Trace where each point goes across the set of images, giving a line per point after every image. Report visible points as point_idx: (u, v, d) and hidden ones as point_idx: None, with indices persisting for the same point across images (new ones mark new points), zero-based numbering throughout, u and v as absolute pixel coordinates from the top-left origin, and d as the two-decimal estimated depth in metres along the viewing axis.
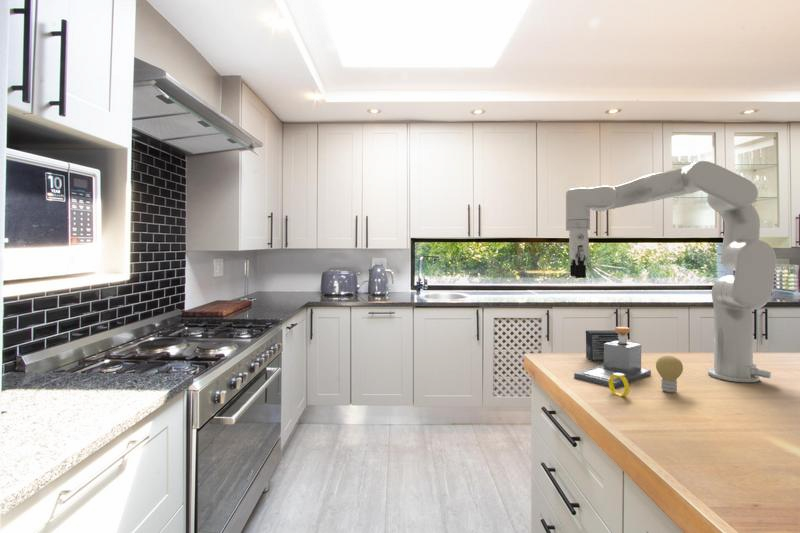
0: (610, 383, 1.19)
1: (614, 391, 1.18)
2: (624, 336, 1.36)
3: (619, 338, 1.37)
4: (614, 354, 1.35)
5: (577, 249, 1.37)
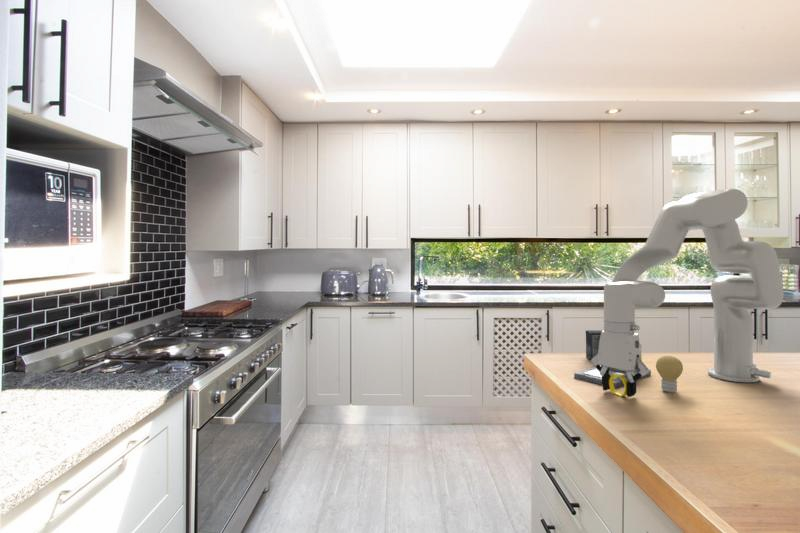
0: (609, 382, 1.19)
1: (614, 391, 1.18)
2: None
3: None
4: None
5: (636, 360, 1.11)
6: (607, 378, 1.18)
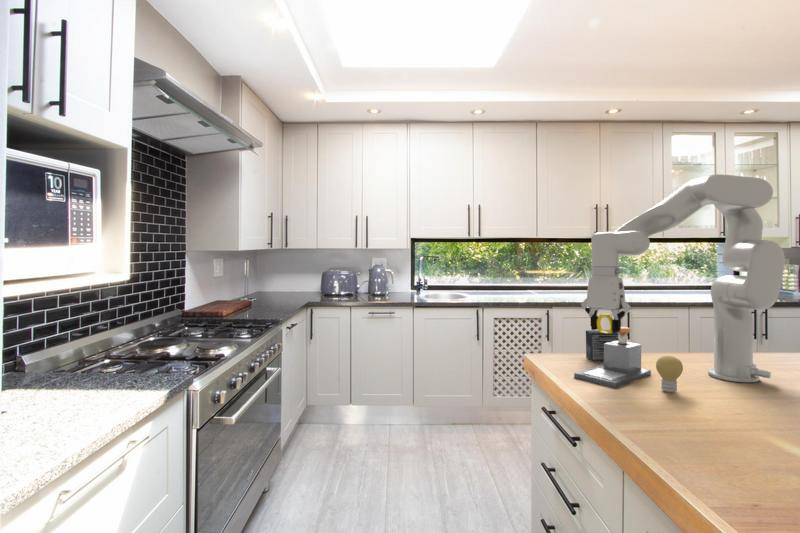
0: (597, 323, 1.33)
1: (601, 330, 1.32)
2: (624, 336, 1.36)
3: (619, 338, 1.37)
4: (614, 354, 1.35)
5: (620, 299, 1.25)
6: (595, 319, 1.32)
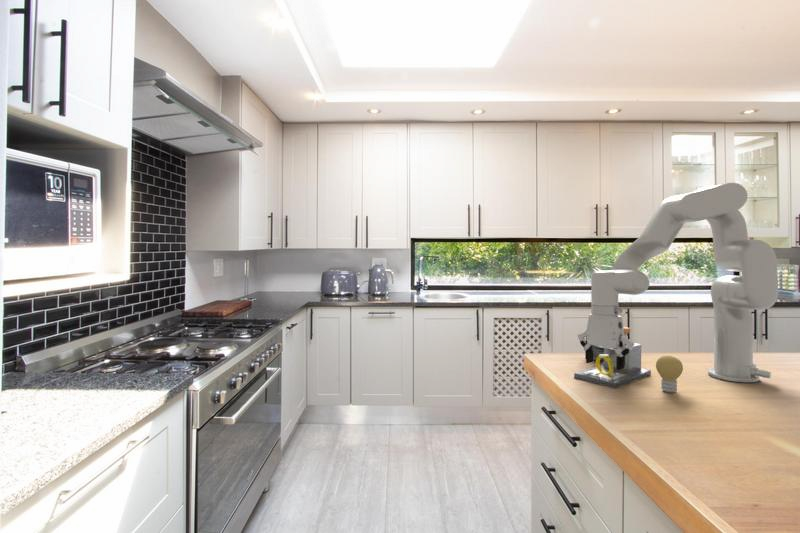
0: (596, 363, 1.33)
1: (601, 370, 1.32)
2: (624, 336, 1.36)
3: None
4: (614, 354, 1.35)
5: (619, 339, 1.26)
6: (590, 352, 1.34)
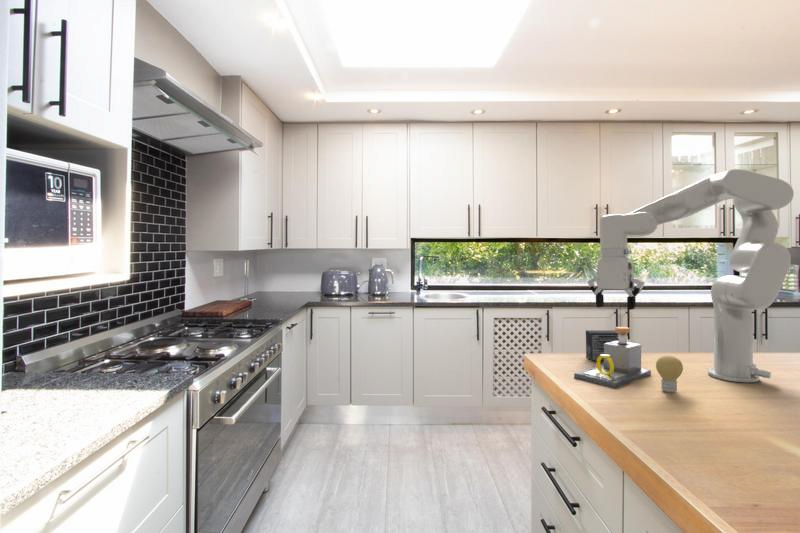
0: (597, 363, 1.33)
1: (601, 370, 1.32)
2: (624, 336, 1.36)
3: (619, 338, 1.37)
4: (614, 354, 1.35)
5: (629, 279, 1.29)
6: (600, 296, 1.37)
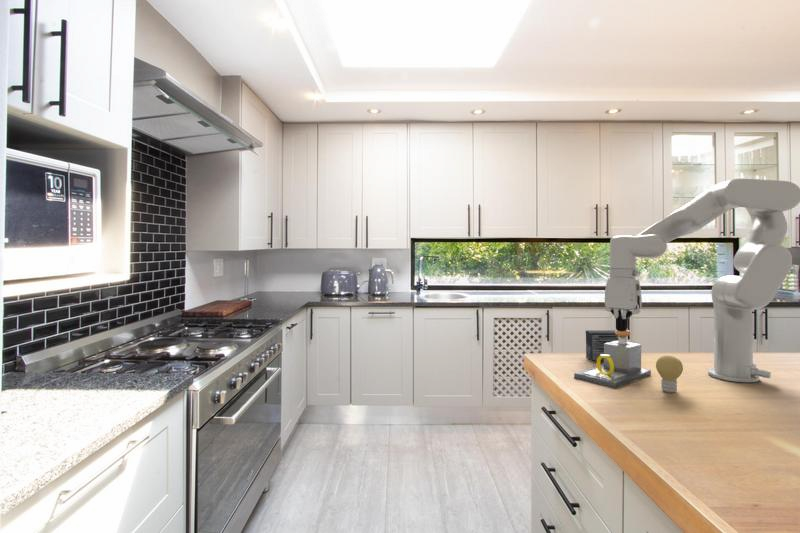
0: (597, 363, 1.33)
1: (601, 370, 1.32)
2: (624, 339, 1.36)
3: (619, 340, 1.37)
4: (614, 354, 1.35)
5: (636, 300, 1.32)
6: None
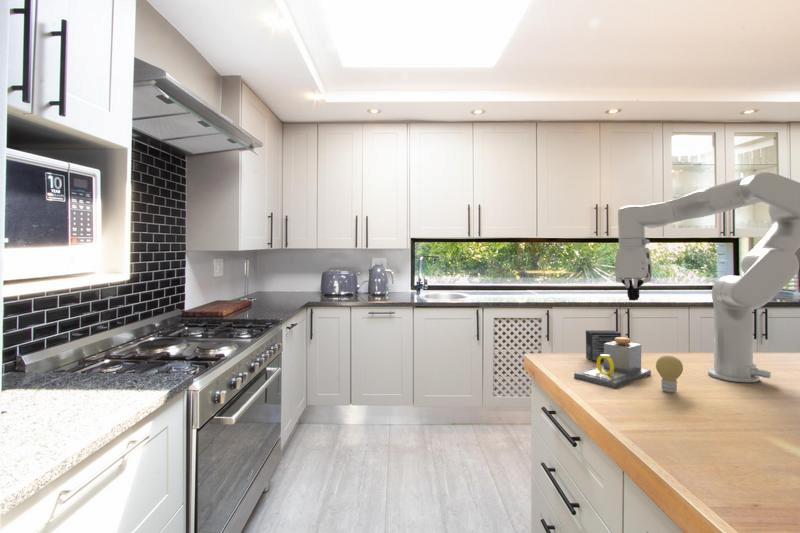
0: (597, 363, 1.33)
1: (601, 370, 1.32)
2: None
3: None
4: (614, 354, 1.35)
5: (647, 268, 1.34)
6: None
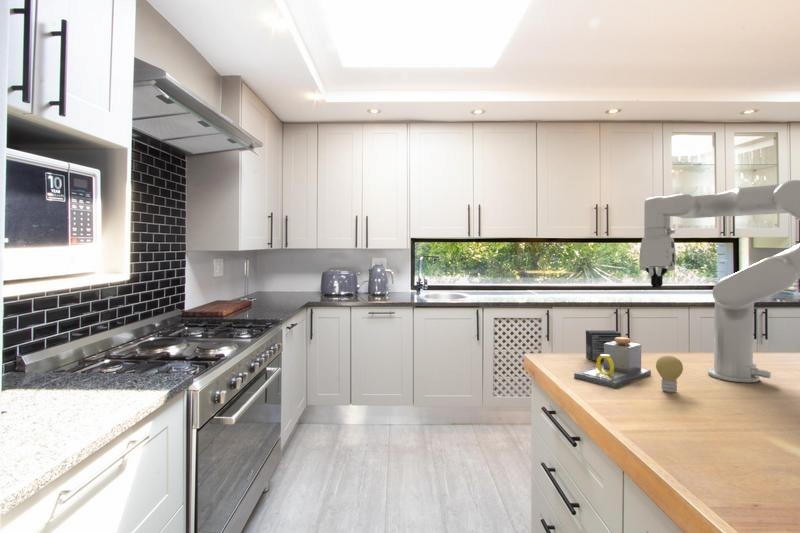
0: (597, 363, 1.33)
1: (601, 370, 1.32)
2: None
3: None
4: (614, 354, 1.35)
5: (672, 257, 1.39)
6: None
